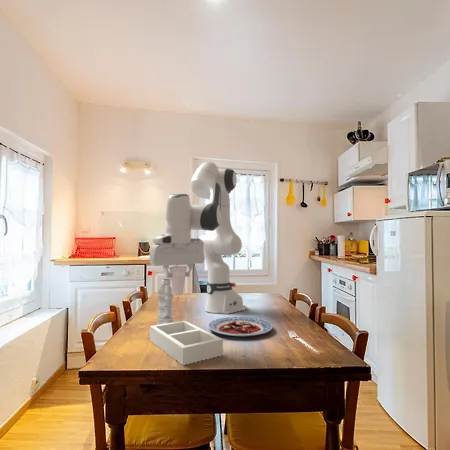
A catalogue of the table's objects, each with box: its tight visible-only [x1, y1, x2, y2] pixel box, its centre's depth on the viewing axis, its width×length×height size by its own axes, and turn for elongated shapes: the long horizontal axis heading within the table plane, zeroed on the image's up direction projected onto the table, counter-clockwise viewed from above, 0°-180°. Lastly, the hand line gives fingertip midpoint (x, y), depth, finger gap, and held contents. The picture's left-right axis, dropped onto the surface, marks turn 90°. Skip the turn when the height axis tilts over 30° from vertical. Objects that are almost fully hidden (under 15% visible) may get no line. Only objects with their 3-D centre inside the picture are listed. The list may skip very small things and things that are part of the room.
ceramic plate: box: [207, 316, 273, 338], centre depth 125 cm, size 26×26×3 cm
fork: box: [287, 330, 319, 353], centre depth 110 cm, size 3×20×2 cm, turn 15°
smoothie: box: [168, 265, 188, 296], centre depth 111 cm, size 6×6×14 cm
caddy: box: [149, 320, 224, 366], centre depth 105 cm, size 26×14×5 cm, turn 34°
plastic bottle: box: [156, 278, 174, 325], centre depth 126 cm, size 6×7×20 cm
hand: (178, 277), depth 111 cm, fingers closed on smoothie, 6 cm apart
